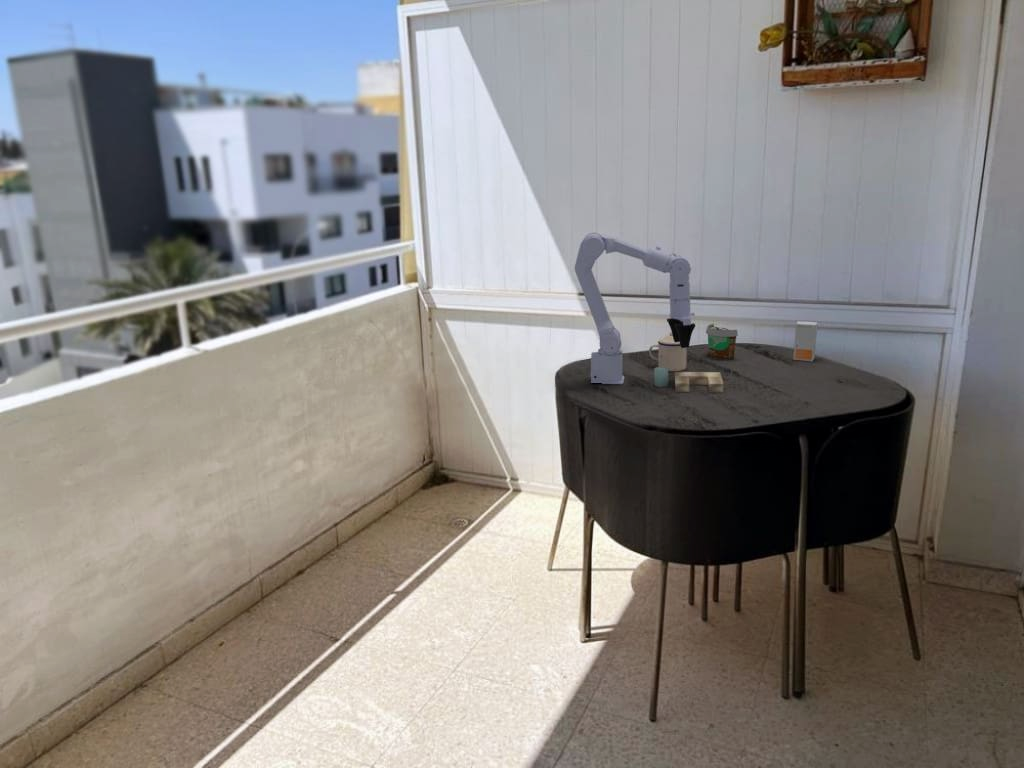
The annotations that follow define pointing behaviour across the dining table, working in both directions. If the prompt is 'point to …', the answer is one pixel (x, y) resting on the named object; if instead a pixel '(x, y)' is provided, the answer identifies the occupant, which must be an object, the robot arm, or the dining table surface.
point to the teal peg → (661, 376)
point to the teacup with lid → (670, 354)
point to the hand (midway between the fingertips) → (681, 344)
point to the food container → (721, 342)
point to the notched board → (698, 381)
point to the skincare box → (805, 341)
